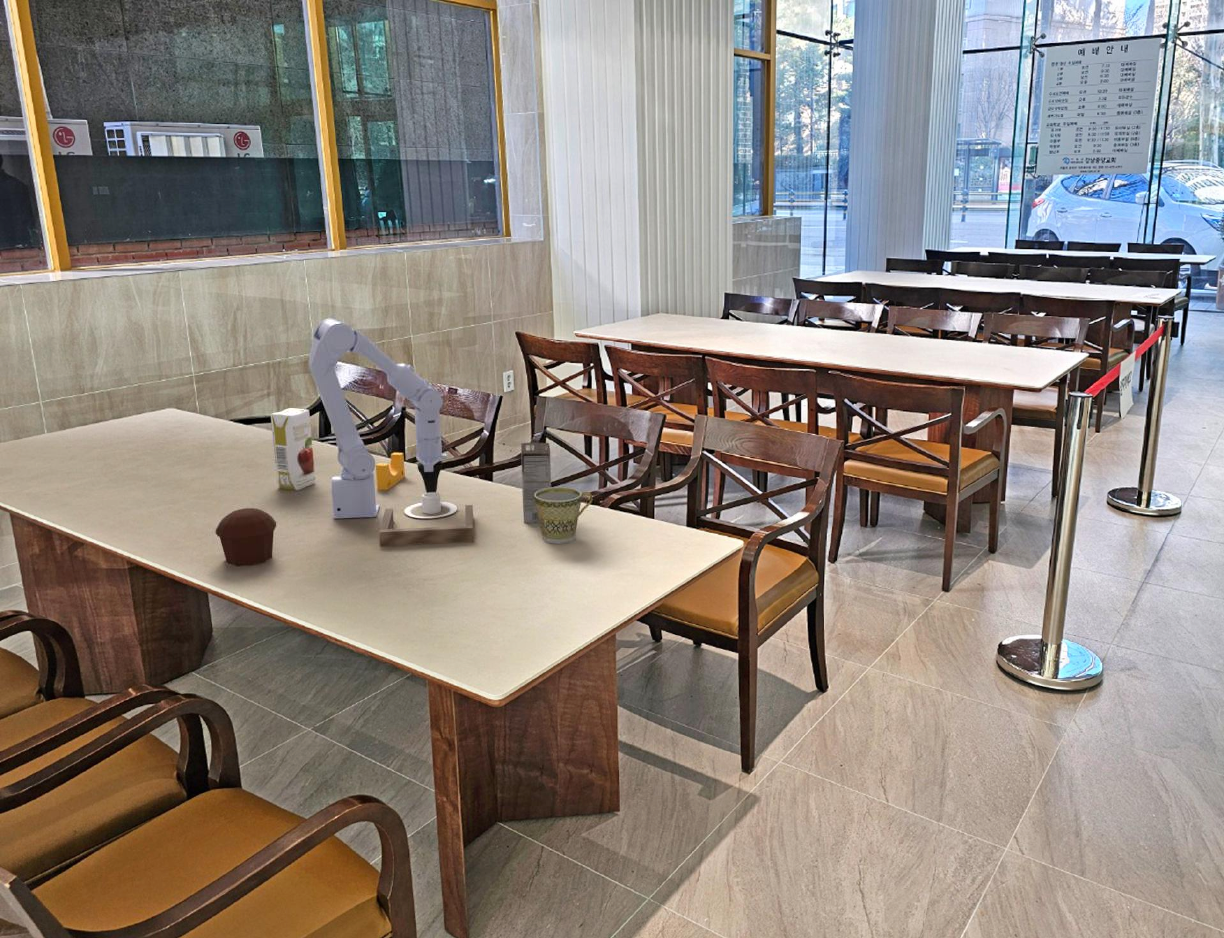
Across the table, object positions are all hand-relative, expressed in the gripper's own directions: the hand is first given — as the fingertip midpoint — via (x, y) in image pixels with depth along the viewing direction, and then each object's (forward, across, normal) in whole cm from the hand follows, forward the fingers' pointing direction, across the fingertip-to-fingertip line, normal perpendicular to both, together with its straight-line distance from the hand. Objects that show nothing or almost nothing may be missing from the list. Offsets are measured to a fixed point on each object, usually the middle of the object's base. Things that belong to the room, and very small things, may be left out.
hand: (431, 492), depth 232 cm
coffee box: (+2, -14, -24) cm, 28 cm away
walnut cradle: (+2, -20, 0) cm, 20 cm away
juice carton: (+2, +18, +34) cm, 39 cm away
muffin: (+2, -32, +35) cm, 47 cm away
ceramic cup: (+2, -29, -29) cm, 41 cm away
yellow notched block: (+3, +18, +12) cm, 21 cm away
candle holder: (+3, -7, 0) cm, 7 cm away
